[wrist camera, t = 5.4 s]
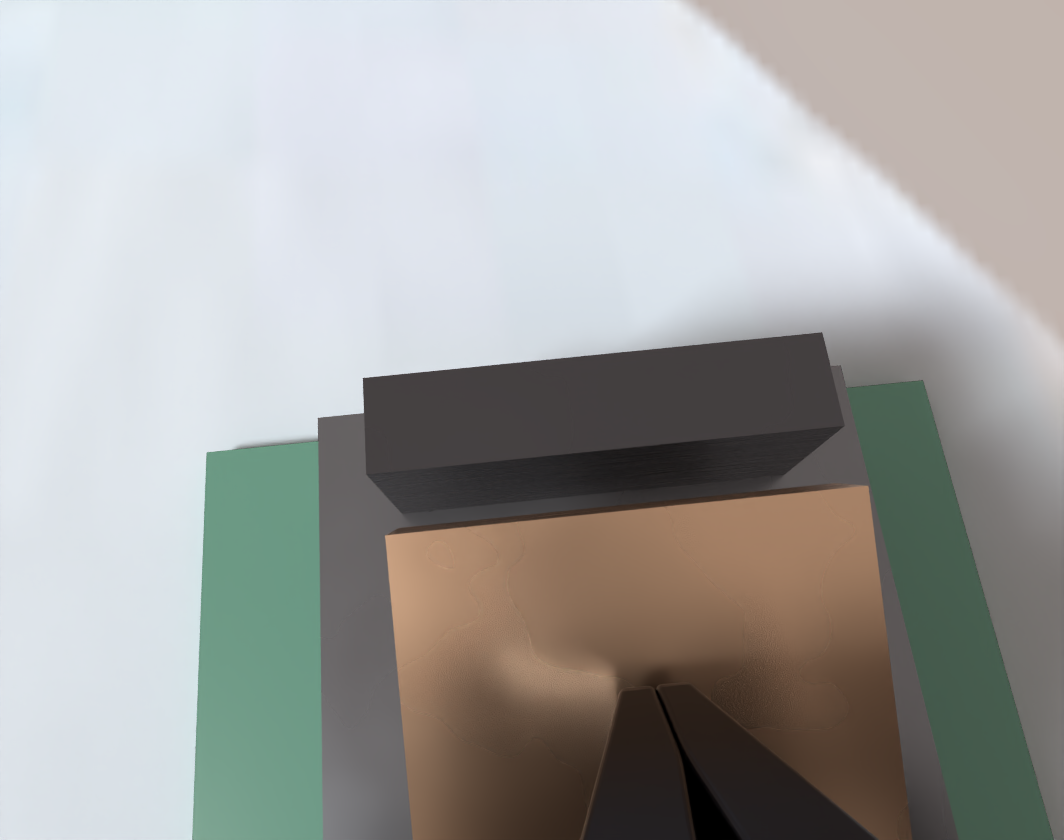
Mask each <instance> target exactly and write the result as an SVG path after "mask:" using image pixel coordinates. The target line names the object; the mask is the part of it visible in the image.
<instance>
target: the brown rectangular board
mask: <svg viewBox="0 0 1064 840" xmlns="http://www.w3.org/2000/svg"><path fill="white" fill-rule="evenodd" d="M385 539H386V550H387V561H388V572H389V583H390V594H391V605H392V616H393V627H394V638H395V649H396V660H397V671H398V682H399V693H400V704H401V715H402V726H403V737H404V748H405V759H406V770H407V781H408V792H409V803H410V814H411V825H412V836H413V840H580V838H581V834H582V830H583V827H584V823H585V819H586V816H587V812H588V808H589V804H590V801H591V797H592V793H593V789H594V786H595V782H596V778H597V774H598V771H599V767H600V763H601V760H602V756H603V752H604V748H605V745H606V741H607V737H608V733H609V730H610V726H611V722H612V718H613V715H614V711H615V707H616V704H617V700H618V696H619V693H620V691H621V690H622V689H624V688H632V687H641V686H651V687H653V688H654V689H656V687H657V686H658V685H660V684H668V683H678V682H688V683H690V684H692V685H693V686H694V687H696V688H697V689H698V690H699V691H700V692H702V693H703V694H704V695H705V696H706V697H708V698H709V699H710V700H711V701H712V702H714V703H715V704H716V705H717V706H718V707H720V708H721V709H722V710H723V711H724V712H726V713H727V714H728V715H729V716H731V717H732V718H733V719H734V720H735V721H737V722H738V723H739V724H740V725H741V726H743V727H744V728H745V729H746V730H747V731H749V732H750V733H751V734H752V735H753V736H755V737H756V738H757V739H758V740H759V741H761V742H762V743H763V744H764V745H765V746H767V747H768V748H769V749H770V750H772V751H773V752H774V753H775V754H776V755H778V756H779V757H780V758H781V759H782V760H784V761H785V762H786V763H787V764H788V765H790V766H791V767H792V768H793V769H794V770H796V771H797V772H798V773H799V774H800V775H802V776H803V777H804V778H805V779H807V780H808V781H809V782H810V783H811V784H813V785H814V786H815V787H816V788H817V789H819V790H820V791H821V792H822V793H823V794H825V795H826V796H827V797H828V798H829V799H831V800H832V801H833V802H834V803H835V804H837V805H838V806H839V807H840V808H841V809H843V810H844V811H845V812H846V813H848V814H849V815H850V816H851V817H852V818H854V819H855V820H856V821H857V822H858V823H860V824H861V825H862V826H863V827H864V828H866V829H867V830H868V831H869V832H870V833H872V834H873V835H874V836H875V837H876V838H878V839H879V840H912V833H911V825H910V817H909V809H908V801H907V793H906V785H905V777H904V769H903V761H902V752H901V744H900V736H899V728H898V720H897V712H896V704H895V696H894V688H893V680H892V672H891V664H890V656H889V648H888V640H887V632H886V624H885V616H884V608H883V600H882V592H881V583H880V575H879V567H878V559H877V551H876V543H875V535H874V527H873V519H872V511H871V503H870V495H869V487H868V486H867V485H854V484H840V483H831V484H821V485H812V486H802V487H792V488H782V489H773V490H763V491H753V492H744V493H734V494H724V495H714V496H705V497H695V498H685V499H676V500H666V501H656V502H647V503H637V504H627V505H617V506H608V507H598V508H588V509H579V510H569V511H559V512H549V513H540V514H530V515H520V516H511V517H501V518H491V519H481V520H472V521H462V522H452V523H443V524H433V525H423V526H413V527H404V528H398V529H396V530H394V531H392V532H390V533H389V534H387V535H385Z"/></svg>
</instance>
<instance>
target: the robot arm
mask: <svg viewBox="0 0 1064 840" xmlns="http://www.w3.org/2000/svg"><path fill="white" fill-rule="evenodd" d="M580 840H879V839H878V838H876V837H875V836H874V835H873V834H872V833H870V832H869V831H868V830H867V829H866V828H864V827H863V826H862V825H861V824H860V823H858V822H857V821H856V820H855V819H854V818H852V817H851V816H850V815H849V814H848V813H846V812H845V811H844V810H843V809H841V808H840V807H839V806H838V805H837V804H835V803H834V802H833V801H832V800H831V799H829V798H828V797H827V796H826V795H825V794H823V793H822V792H821V791H820V790H819V789H817V788H816V787H815V786H814V785H813V784H811V783H810V782H809V781H808V780H807V779H805V778H804V777H803V776H802V775H800V774H799V773H798V772H797V771H796V770H794V769H793V768H792V767H791V766H790V765H788V764H787V763H786V762H785V761H784V760H782V759H781V758H780V757H779V756H778V755H776V754H775V753H774V752H773V751H772V750H770V749H769V748H768V747H767V746H765V745H764V744H763V743H762V742H761V741H759V740H758V739H757V738H756V737H755V736H753V735H752V734H751V733H750V732H749V731H747V730H746V729H745V728H744V727H743V726H741V725H740V724H739V723H738V722H737V721H735V720H734V719H733V718H732V717H731V716H729V715H728V714H727V713H726V712H724V711H723V710H722V709H721V708H720V707H718V706H717V705H716V704H715V703H714V702H712V701H711V700H710V699H709V698H708V697H706V696H705V695H704V694H703V693H702V692H700V691H699V690H698V689H697V688H696V687H694V686H693V685H692V684H690V683H688V682H678V683H668V684H660V685H658V686H657V687H656V689H654V688H653V687H651V686H641V687H632V688H624V689H622V690H621V691H620V693H619V696H618V700H617V704H616V707H615V711H614V715H613V718H612V722H611V726H610V730H609V733H608V737H607V741H606V745H605V748H604V752H603V756H602V760H601V763H600V767H599V771H598V774H597V778H596V782H595V786H594V789H593V793H592V797H591V801H590V804H589V808H588V812H587V816H586V819H585V823H584V827H583V830H582V834H581V838H580Z"/></svg>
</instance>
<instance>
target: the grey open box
mask: <svg viewBox="0 0 1064 840" xmlns="http://www.w3.org/2000/svg"><path fill="white" fill-rule="evenodd" d="M363 394H364V413H363V414H353V415H343V416H333V417H323V418H318V465H319V550H320V635H321V721H322V806H323V840H413V836H412V825H411V814H410V803H409V792H408V781H407V770H406V759H405V748H404V737H403V726H402V715H401V704H400V693H399V682H398V671H397V660H396V649H395V638H394V627H393V616H392V605H391V594H390V583H389V572H388V561H387V550H386V539H385V535H387V534H389V533H390V532H392V531H394V530H396V529H398V528H404V527H413V526H423V525H433V524H443V523H452V522H462V521H472V520H481V519H491V518H501V517H511V516H520V515H530V514H540V513H549V512H559V511H569V510H579V509H588V508H598V507H608V506H617V505H627V504H637V503H647V502H656V501H666V500H676V499H685V498H695V497H705V496H714V495H724V494H734V493H744V492H753V491H763V490H773V489H782V488H792V487H802V486H812V485H821V484H831V483H840V484H854V485H867V486H868V487H869V495H870V503H871V511H872V519H873V527H874V535H875V543H876V551H877V559H878V567H879V575H880V583H881V592H882V600H883V608H884V616H885V624H886V632H887V640H888V648H889V656H890V664H891V672H892V680H893V688H894V696H895V704H896V712H897V720H898V728H899V736H900V744H901V752H902V761H903V769H904V777H905V785H906V793H907V801H908V809H909V817H910V825H911V833H912V840H959V838H958V834H957V830H956V826H955V822H954V818H953V814H952V810H951V806H950V802H949V798H948V794H947V790H946V786H945V782H944V778H943V774H942V770H941V766H940V762H939V758H938V754H937V750H936V746H935V742H934V738H933V734H932V730H931V726H930V722H929V718H928V714H927V710H926V706H925V702H924V698H923V694H922V690H921V686H920V682H919V678H918V674H917V670H916V666H915V662H914V658H913V654H912V650H911V646H910V642H909V638H908V634H907V630H906V626H905V622H904V618H903V614H902V610H901V606H900V602H899V598H898V594H897V590H896V586H895V582H894V578H893V574H892V570H891V566H890V562H889V558H888V554H887V550H886V546H885V542H884V538H883V534H882V530H881V526H880V522H879V518H878V514H877V510H876V506H875V502H874V498H873V494H872V490H871V486H870V482H869V478H868V474H867V470H866V466H865V462H864V458H863V454H862V450H861V446H860V442H859V438H858V433H857V429H856V425H855V421H854V417H853V413H852V409H851V405H850V401H849V397H848V393H847V389H846V385H845V381H844V377H843V373H842V369H841V366H832V367H830V363H829V359H828V354H827V350H826V346H825V342H824V338H823V334H822V333H813V334H803V335H793V336H782V337H772V338H762V339H752V340H742V341H732V342H722V343H712V344H702V345H692V346H682V347H672V348H662V349H652V350H642V351H632V352H621V353H611V354H601V355H591V356H581V357H571V358H561V359H551V360H541V361H531V362H521V363H511V364H501V365H491V366H481V367H471V368H460V369H450V370H440V371H430V372H420V373H410V374H400V375H390V376H380V377H370V378H363Z"/></svg>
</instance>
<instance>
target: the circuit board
mask: <svg viewBox="0 0 1064 840" xmlns="http://www.w3.org/2000/svg"><path fill="white" fill-rule="evenodd" d="M846 389H847V393H848V397H849V401H850V405H851V409H852V413H853V417H854V421H855V425H856V429H857V433H858V438H859V442H860V446H861V450H862V454H863V458H864V462H865V466H866V470H867V474H868V478H869V482H870V486H871V490H872V494H873V498H874V502H875V506H876V510H877V514H878V518H879V522H880V526H881V530H882V534H883V538H884V542H885V546H886V550H887V554H888V558H889V562H890V566H891V570H892V574H893V578H894V582H895V586H896V590H897V594H898V598H899V602H900V606H901V610H902V614H903V618H904V622H905V626H906V630H907V634H908V638H909V642H910V646H911V650H912V654H913V658H914V662H915V666H916V670H917V674H918V678H919V682H920V686H921V690H922V694H923V698H924V702H925V706H926V710H927V714H928V718H929V722H930V726H931V730H932V734H933V738H934V742H935V746H936V750H937V754H938V758H939V762H940V766H941V770H942V774H943V778H944V782H945V786H946V790H947V794H948V798H949V802H950V806H951V810H952V814H953V818H954V822H955V826H956V830H957V834H958V838H959V840H1054V839H1053V835H1052V832H1051V828H1050V825H1049V821H1048V818H1047V814H1046V811H1045V807H1044V804H1043V800H1042V797H1041V793H1040V790H1039V786H1038V783H1037V779H1036V776H1035V772H1034V769H1033V765H1032V762H1031V758H1030V755H1029V751H1028V748H1027V744H1026V741H1025V737H1024V734H1023V730H1022V727H1021V723H1020V720H1019V716H1018V712H1017V709H1016V705H1015V702H1014V698H1013V695H1012V691H1011V688H1010V684H1009V681H1008V677H1007V674H1006V670H1005V667H1004V663H1003V660H1002V656H1001V653H1000V649H999V646H998V642H997V639H996V635H995V632H994V628H993V625H992V621H991V618H990V614H989V611H988V607H987V604H986V600H985V597H984V593H983V590H982V586H981V583H980V579H979V576H978V572H977V569H976V565H975V562H974V558H973V555H972V551H971V548H970V544H969V541H968V537H967V534H966V530H965V527H964V523H963V520H962V516H961V512H960V509H959V505H958V502H957V498H956V495H955V491H954V488H953V484H952V481H951V477H950V474H949V470H948V467H947V463H946V460H945V456H944V453H943V449H942V446H941V442H940V439H939V435H938V432H937V428H936V425H935V421H934V418H933V414H932V411H931V407H930V404H929V400H928V397H927V393H926V390H925V386H924V383H923V380H921V381H911V382H901V383H891V384H881V385H871V386H861V387H852V388H846ZM192 840H323V806H322V721H321V635H320V550H319V465H318V441H316V442H306V443H296V444H286V445H276V446H266V447H256V448H246V449H236V450H226V451H216V452H207V457H206V484H205V511H204V538H203V565H202V592H201V619H200V646H199V673H198V700H197V727H196V754H195V781H194V808H193V835H192Z"/></svg>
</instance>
